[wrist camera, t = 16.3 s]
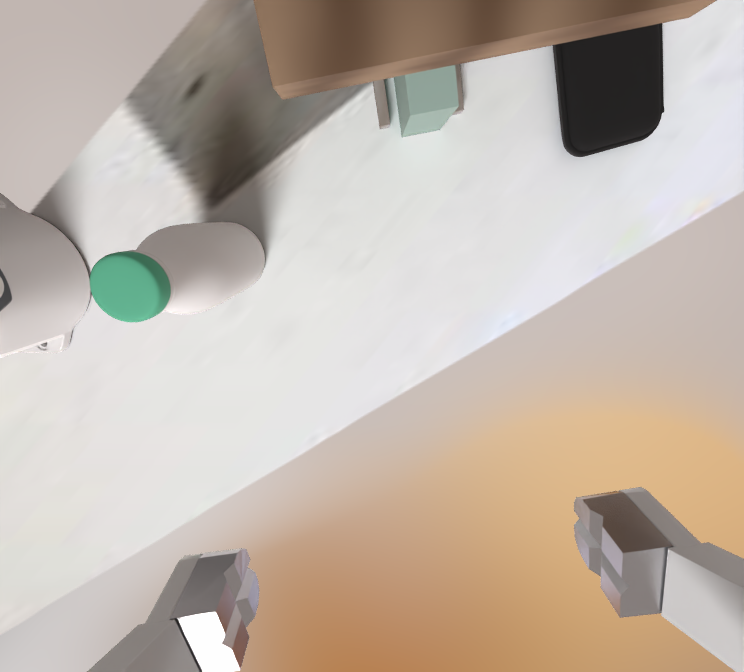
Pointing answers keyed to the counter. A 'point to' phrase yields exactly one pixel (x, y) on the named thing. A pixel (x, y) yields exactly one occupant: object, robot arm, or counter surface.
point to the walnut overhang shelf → (428, 36)
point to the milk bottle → (178, 271)
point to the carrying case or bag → (609, 89)
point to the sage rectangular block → (426, 99)
